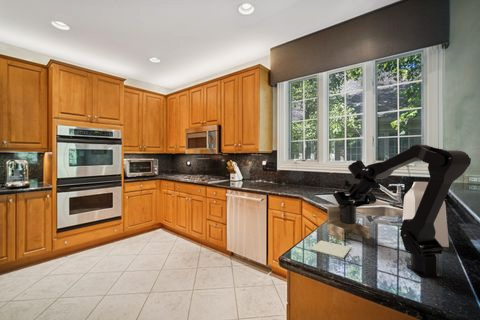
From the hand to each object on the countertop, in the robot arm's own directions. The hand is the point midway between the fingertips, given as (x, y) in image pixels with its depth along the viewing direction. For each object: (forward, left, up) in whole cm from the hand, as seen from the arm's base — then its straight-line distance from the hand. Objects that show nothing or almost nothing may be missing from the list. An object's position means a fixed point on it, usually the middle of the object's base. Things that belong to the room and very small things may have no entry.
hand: (346, 207), depth 101 cm
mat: (-18, +12, -13) cm, 26 cm away
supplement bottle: (-1, 0, -7) cm, 7 cm away
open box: (-1, 0, -13) cm, 13 cm away
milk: (-3, -31, -13) cm, 34 cm away
